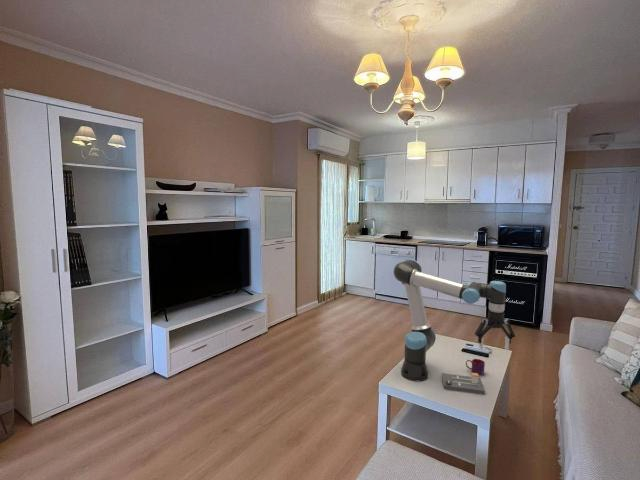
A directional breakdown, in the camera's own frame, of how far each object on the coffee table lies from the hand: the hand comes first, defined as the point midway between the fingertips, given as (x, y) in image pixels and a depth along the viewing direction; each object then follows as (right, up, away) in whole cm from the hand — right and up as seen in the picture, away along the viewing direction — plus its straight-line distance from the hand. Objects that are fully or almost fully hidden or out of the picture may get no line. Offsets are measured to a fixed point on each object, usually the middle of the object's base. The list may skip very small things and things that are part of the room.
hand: (493, 349), depth 186 cm
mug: (-3, -19, +17) cm, 25 cm away
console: (-16, -20, +2) cm, 26 cm away
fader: (-10, -18, 0) cm, 21 cm away
